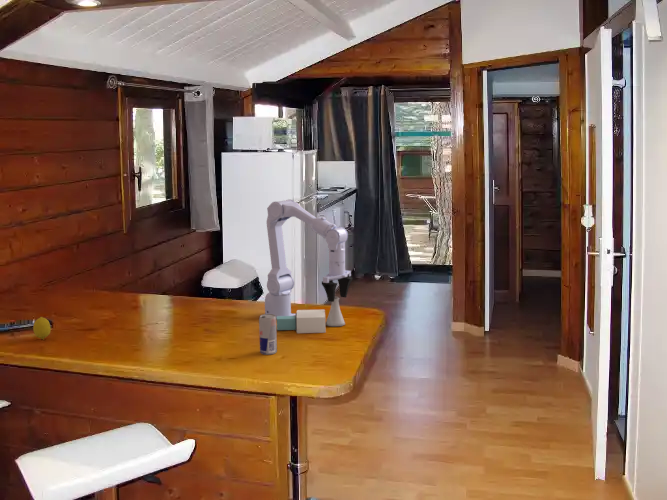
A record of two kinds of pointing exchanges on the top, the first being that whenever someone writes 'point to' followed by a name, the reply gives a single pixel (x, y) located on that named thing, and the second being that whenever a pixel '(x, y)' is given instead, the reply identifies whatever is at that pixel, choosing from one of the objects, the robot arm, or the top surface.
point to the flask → (335, 315)
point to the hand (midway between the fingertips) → (337, 299)
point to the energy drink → (267, 334)
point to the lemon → (41, 328)
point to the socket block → (310, 321)
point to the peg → (286, 323)
